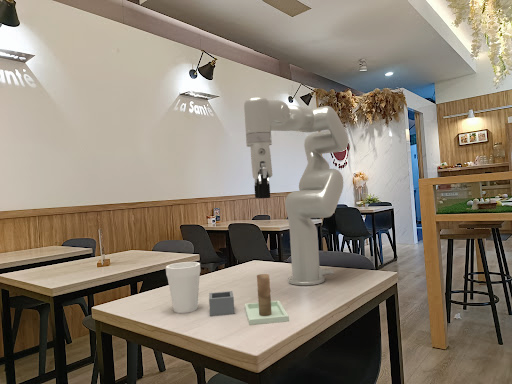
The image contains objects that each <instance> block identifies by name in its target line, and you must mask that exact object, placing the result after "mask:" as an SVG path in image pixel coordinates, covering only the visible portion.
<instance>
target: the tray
mask: <svg viewBox="0 0 512 384" xmlns="http://www.w3.org/2000/svg"><path fill="white" fill-rule="evenodd" d="M244 310H245V315H246V317H247V321H248V325H249V326H255V325H264V324H265V325H266V324H274V323H284V322H285V323H286V322H290V315H289V314H288V313H287V311H286V309H285V308H284V305H282V303H281V301H280V300H271V311H272V314H271V315H269V316H260V315H259V303H258V302H251V303H244Z"/></svg>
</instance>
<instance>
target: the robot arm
mask: <svg viewBox="0 0 512 384" xmlns="http://www.w3.org/2000/svg"><path fill="white" fill-rule="evenodd" d="M243 110H244V125H245V126H244V127H245V139H246V140H245V141H246V147H247V148H250V161H251V172H252V178H253V179H254V185H253V187H254V198H255V199H269V198H271V185H270V180H269V178H272V177H273V167H272V166H273V165H272V158H271V156H272V155H271V149H270V146H272V144H273V143H272V132H273V131H275V132H276V131H277V132H298V133H299V132H302V133H311V134H308V135H307V136H306V137H305V139H304V143H303V147H304V151H305V156H306V159H307V160H306V161H307V165H306V166H305V169H304V171H303V172H302V173H303V174H302V175H301V178H300V180H299V183H298V190H296V191H292V192H290V193H288V195H287V196H286V197H285V202H284V206H285V211H286V215H287V219H288V226H289V239H290V240H289V243H290V244H289V245H290V256H291V257H290V259H291V274H292V275H291V276H290V277H288V283H289V284H291V285H295V286H313V285H319V284H322V283H324V282H325V281H326V280H325V279H326V278H325V276H326V275H327V276H330V275H335V274H334V269H333V268H322V267H321V266H320V255H319V253H320V251H319V238H318V230H317V226H316V224H315V223H314V222H313V220H312V219H324V218H325V219H326V218H330V217H332V216H333V214H334V213H335V211H336V209H337V206H338V203H339V201H340V198H341V196H342V193H343V191H344V190H343V189H344V176H343V175H342V173H341V172H340V171H339V170H338V169H336V168H330V164H329V162H328V161H327V160H326V158H325V157H324V156H322V155H323V154H331V153H340V152H343V151H345V150H346V149H347V147H348V146H349V137H348V134H347V132H346V129H345V127H344V125H343V123H342V121H341V119H340V117H339V115H338V113H337V112H336V111H335V109H334V108H333V107H332V106H329V105H324V106H318V107H314V108H307V107H302V106H298V105H288V104H287V103H286V102H285V101H282V100H278V99H277V100H275V99H274V100H273V99H272V100H271V99H267V98H265V97H259V96H258V97H250V98H248V99H246V100H244V104H243Z"/></svg>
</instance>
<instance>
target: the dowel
mask: <svg viewBox="0 0 512 384" xmlns="http://www.w3.org/2000/svg"><path fill="white" fill-rule="evenodd" d="M270 280H271V279H270V274H267V273H262V274H260V273H259V274H257V275H256V282H257V283H256V284H257V286H256V287H257V303H259V315H260V316H269V315H271V314H272V311H271V301H272V298H271V297H272V296H271V281H270Z"/></svg>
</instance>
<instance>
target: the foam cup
mask: <svg viewBox="0 0 512 384" xmlns="http://www.w3.org/2000/svg"><path fill="white" fill-rule="evenodd" d="M200 273H201V262H197V261H184V262H175V263H171V264H168V265H166V266H165V274H166V278H167V282H168V287H169V291H170V298H171V303H172V308H173V312H174V313H176V314H177V313H178V314H187V313H192V312H194V311H197V310H198V305H199V304H198V303H199V291H200V288H199V286H200V275H201V274H200Z"/></svg>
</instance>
